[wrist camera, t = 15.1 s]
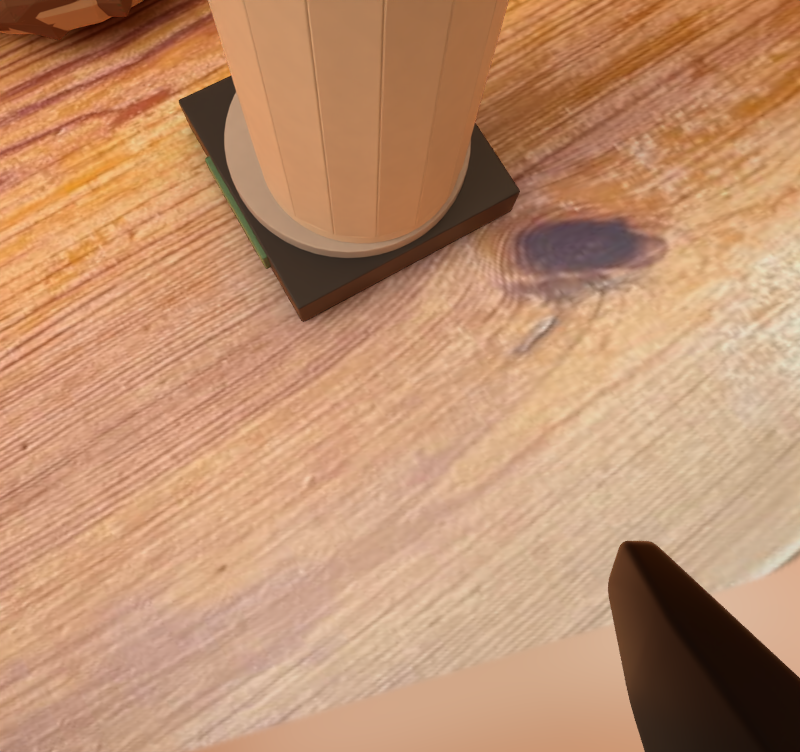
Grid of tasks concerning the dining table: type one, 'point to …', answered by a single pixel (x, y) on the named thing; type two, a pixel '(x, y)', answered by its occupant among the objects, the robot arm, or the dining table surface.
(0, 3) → the donut
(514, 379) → the dining table surface
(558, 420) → the dining table surface
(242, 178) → the scale
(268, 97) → the canister
